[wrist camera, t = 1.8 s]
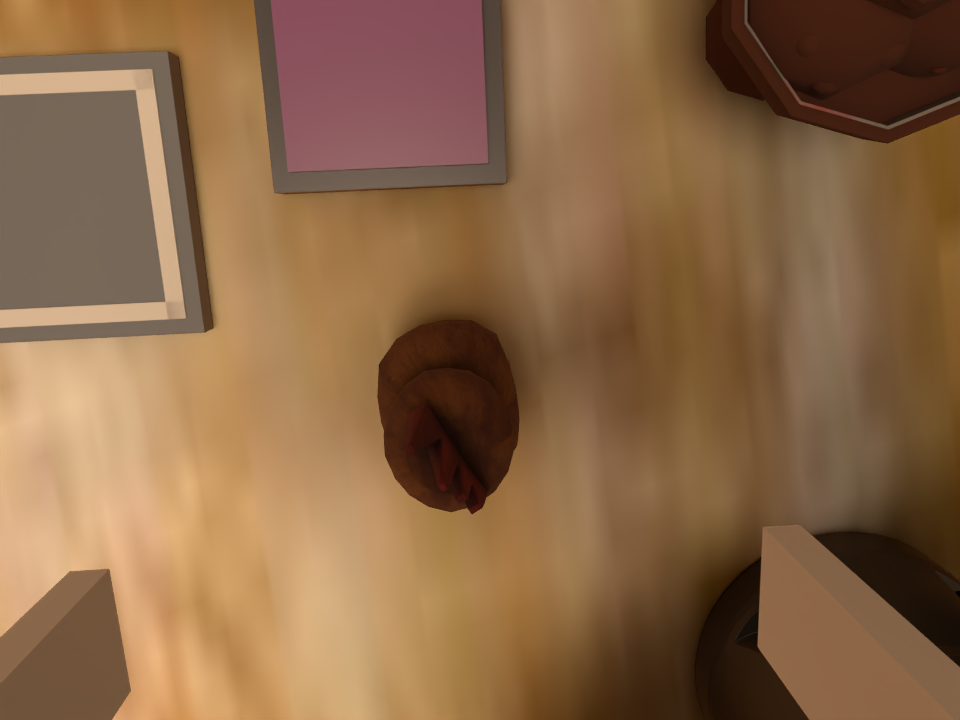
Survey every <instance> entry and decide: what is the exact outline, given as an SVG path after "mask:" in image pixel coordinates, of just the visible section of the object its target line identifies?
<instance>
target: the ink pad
mask: <svg viewBox="0 0 960 720" xmlns="http://www.w3.org/2000/svg"><path fill="white" fill-rule="evenodd" d="M254 5H255V15H256V24H257V34H258V43H259V53H260V62H261V72H262V81H263V91H264V101H265V110H266V120H267V129H268V139H269V148H270V158H271V167H272V177H273V186H274V193H279V194H301V193H323V192H346V191H368V190H390V189H412V188H435V187H457V186H479V185H501V184H505V183H507V176H506V148H505V120H504V92H503V64H502V36H501V8H500V0H254Z"/></svg>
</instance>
